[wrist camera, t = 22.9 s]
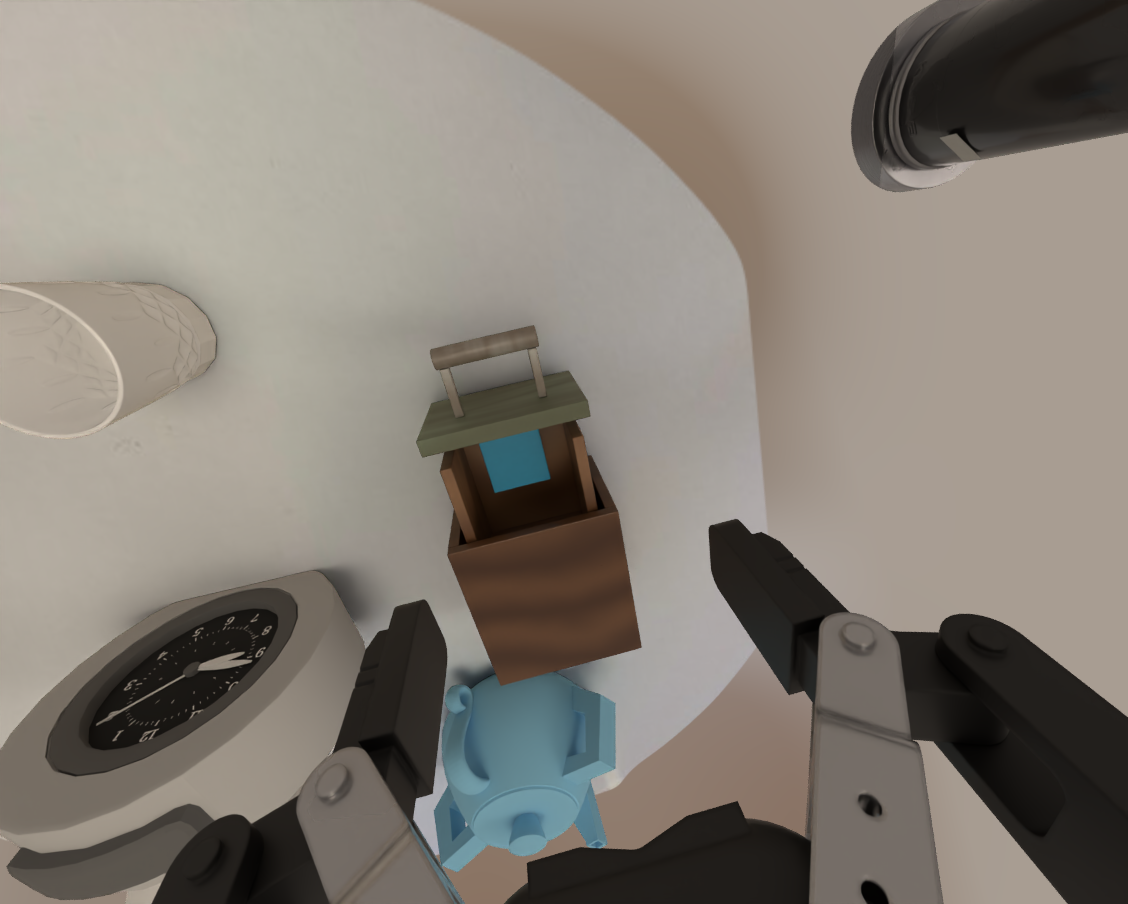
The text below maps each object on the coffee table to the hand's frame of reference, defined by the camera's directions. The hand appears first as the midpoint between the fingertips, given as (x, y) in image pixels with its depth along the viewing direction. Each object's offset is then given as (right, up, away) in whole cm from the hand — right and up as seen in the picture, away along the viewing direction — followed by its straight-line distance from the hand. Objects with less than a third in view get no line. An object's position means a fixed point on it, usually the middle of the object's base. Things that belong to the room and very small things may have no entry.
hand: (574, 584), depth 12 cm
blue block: (-5, +5, +24) cm, 25 cm away
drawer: (-5, +5, +25) cm, 26 cm away
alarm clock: (-29, -12, +30) cm, 44 cm away
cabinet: (-2, -4, +31) cm, 31 cm away
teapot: (-5, -28, +42) cm, 51 cm away
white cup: (-29, +12, +19) cm, 36 cm away
